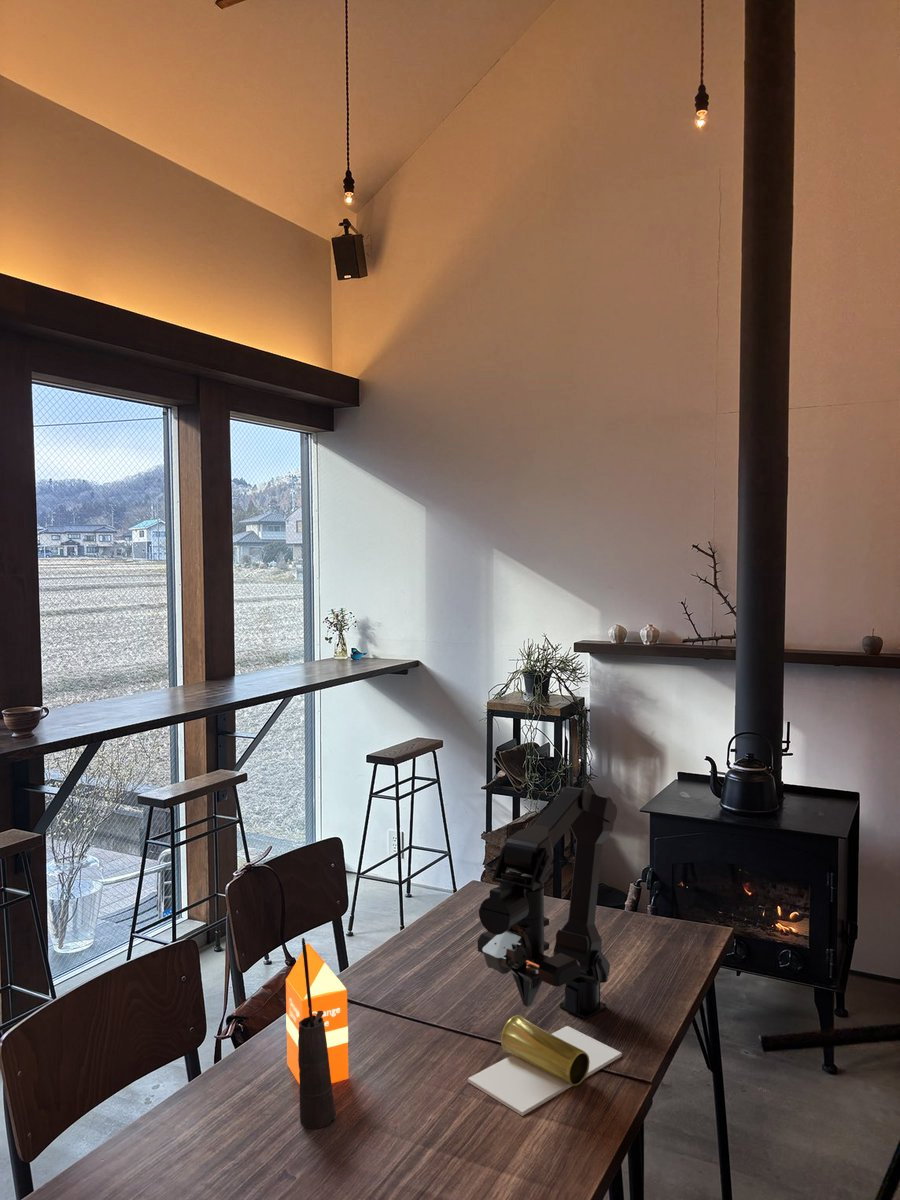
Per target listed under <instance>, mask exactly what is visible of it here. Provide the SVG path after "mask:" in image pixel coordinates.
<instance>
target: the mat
mask: <svg viewBox="0 0 900 1200" xmlns="http://www.w3.org/2000/svg"><path fill="white" fill-rule="evenodd" d="M551 1034H552V1035H553V1036H555V1037H557V1038H559V1039H561V1040H563V1041H565V1042H567V1043H569V1044H571V1045H573V1046H575V1047H577V1048H579V1049H581V1050H583V1051H584V1052H586V1053H587V1054H588V1056H589V1060H590V1064H589V1070H588V1073H587V1075H586V1077H585V1079H587V1078H588V1077H589V1076H591V1075H593V1074H595V1073H596V1072H598V1071H600V1070H601V1069H603V1068H604V1067H607V1066H608V1065H609V1064H611V1063H612V1062H615V1061H616V1060H618V1059H620V1058H621V1057H622V1054H623V1053H622V1052H621V1051H619V1050H617V1049H615V1048H613V1047H611V1046H608V1045H606V1044H605V1043H603V1042H601V1041H599V1040H597V1039H595V1038H593V1037H590V1036H589V1035H587V1034H584V1033H583V1032H580V1031H579V1030H577V1029H575V1028H573V1027H570V1026H569V1025H566V1026H564V1027H562V1028H560V1029H558V1030H556V1031H554V1032H552V1033H551ZM467 1082H468V1083H469V1084H470V1085H472V1086H473V1087H475V1088H477V1089H478V1090H480V1091H482V1092H483V1093H485V1094H486V1095H488V1096H489V1097H491V1098H493V1100H494V1099H495V1100H496V1101H497V1102H499V1103H500V1104H502V1105H504V1106H505V1107H507V1108H509V1109H510V1110H512V1111H514V1112H515V1113H517V1114H518V1115H520V1116H522V1117H524V1116H525V1115H526V1114H528V1113H530V1112H532V1111H533V1110H535V1109H536V1108H539V1107H540V1106H541V1105H543V1104H545V1103H546V1102H548V1101H549V1100H552V1099H553V1098H554V1097H557V1096H558V1095H559V1094H561V1093H563V1092H565V1091H566V1090H569V1088H571V1087H574V1086H573V1085H570V1084H568V1083H567V1082H565V1081H563V1080H561V1079H559V1078H558V1077H556V1076H554V1075H552V1074H550V1073H548V1072H546V1071H544V1070H542V1069H540V1068H538V1067H536V1066H535V1065H532V1064H530V1063H528V1062H527V1061H525V1060H523V1059H521V1058H519V1057H517V1056H515V1055H513V1054H511V1055H509V1056H508V1057H505V1058H503V1059H502V1060H500V1061H497V1062H496V1063H494V1064H492V1065H490V1066H488V1067H487V1068H484V1069H483V1070H481V1071H479V1072H477V1073H475V1074H473V1075H472V1076H470V1077H468V1078H467Z"/></svg>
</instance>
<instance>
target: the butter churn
mask: <svg viewBox="0 0 900 1200" xmlns="http://www.w3.org/2000/svg"><path fill="white" fill-rule="evenodd" d="M306 944H307V943H306V939H305V938H304V937H302V939H301V945H302V947H301V948H302V949H301V950H302V951H303V958H304V968H305V978H306V988H307V999H308V1007H309V1017H307V1018H303V1019H302V1020H301V1021H299V1032H298V1034H299V1038H298V1048H299V1049H298V1051H299V1052H298V1065H299V1080H300V1084H299V1091H298V1093H299V1122H300V1123H301V1125H302V1126H303V1127H304V1128H308V1129H311V1130H316V1129H317V1130H318V1129H320V1128H321V1129H322V1128H324V1127H327V1126H329V1125H331V1122H332V1121H333V1120H335V1119H336V1107H335V1101H334V1093H333V1083H331V1075H330V1065H329V1054H328V1049H327V1041H326V1034H325V1027H324V1021H323V1018H321V1017H322V1015H323V1013H324V1012H323V1011H318V1012H317V1015H316V1016H315V1015H313V1014H312V1002H311V993H310V983H309V971H308V959H307V950H306Z"/></svg>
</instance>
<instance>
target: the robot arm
mask: <svg viewBox="0 0 900 1200" xmlns="http://www.w3.org/2000/svg"><path fill="white" fill-rule="evenodd" d="M557 794H558V796H557V797H556V798H555V799H554V800H553V802H551V804H549V806H548V807H547V808H546V809H545V810H544V811H543V813H542V814H541V815H540V816H539V817H538V818H537V819H536V821H535V822H534V823H533V824H532V825H531V826H529V827H525V828H522V829H518V830H517V831H515V832H514V833H513V834H512V835H511V836H509V837H508V838H507V840H506V841H505V842H504V843H503V845H502V848H501V851H500V854H499V858H498V860H497V864H496V866H495V870H494V873H493V875H492V879H491V881H492V882H493V883H497V884H499V886H497V887H492V888H491V889H490V890H489V897H487V898H486V899H484V900H482V903H481V904H480V906H479V909H478V917H479V920H480V922H481V924H482V926H483V927H484V929H485V930H486V931H485V932H483V933H481V934H480V935H479V937H478V938H477V940H476V941H477V952H479V953H481V954H483V957H484V960H485V963H486V966H487V968H489V969H493V970H495V971H497V972H498V973H499V974H501V975H502V974H503V975H505V974H506V975H507V974H509V973H511V974H512V976H513V979H514V981H515V984H516V987H517V990H518V993H519V996H520V998H521V999H520V1000H521V1001H522V1005H523V1006H524V1007H527V1008H528V1007H531V1006H532V1004H533V1002H534V1000H535V998H536V995H537V993H538V992H539V990H540V989H539V988H540V987H541V985H542V982H544V983H545V984H548V985H550V986H552V987H561V986H563V985H565V986H564V1001H562V1002H559V1004H558V1005H559V1008H561V1009H563V1010H566V1011H567V1012H570V1013H571V1014H574V1015H576V1016H577V1017H580V1018H581V1019H585V1020H586V1019H589V1018H590V1017H593V1016H594V1015H596V1014H598V1013H600V1012H601V1011H604V1010H605V1009H608V1005H607V1004H606V1003H604V1002H602V1001H601V983H607V982H608V981H609V980H608V977H609V974H610V971H611V970H610V968H611V963H610V961H608V959H607V958H606V957H605V955H604V954H603V952H602V943H603V942H602V941H603V940H602V938H601V936H600V933H599V932H598V929H597V927H596V924H595V923H596V912H597V901H598V891H599V882H600V871H601V863H602V853H603V851H602V850H603V844H604V843H605V841H606V840H607V839H608V837H610V835H611V833H613V829H614V824H615V821H616V820H617V814H618V810H617V809H618V808H617V805H616V804H615V803H614V802H613V799H612V798H611V797H610V796H605V795H598V794H595V793H592V792H591V791H589V790H587V789H586V788H581V787H575V786H574V787H573V786H568V785H567V786H564V787H561V788H560V789H559V792H558V793H557ZM569 828H570V829H571V831H572V833H573V836H574V838H575V840H576V842H575V843H576V844H575V851H574V852H575V854H574V861H573V862H574V863H573V869H572V870H573V874H572V880H571V890H570V901H569V911H568V919H567V921H566V923H565V924H564V925H563V926H562V928H561V929H558V930H557V932H556V934H555V945H554V947H553V955H551V954H549V953H546V951H548V950H550V942H548V941H545V927H547V926H549V925H550V918H549V917H545V909H544V907H545V905H544V904H545V902H544V901H545V898H544V894H545V892H544V891H545V890H544V888H545V887H544V886H545V884H544V883H546V882H548V881H549V879H550V877H549V875H548V874H547V873H548V872H549V869H550V866H551V864H552V862H553V860H554V850H553V849H554V848H555V846H556V844H558V842H559V840H561V838H562V837H563V836H564V835H565V834H566V832H567V831H568V830H569ZM507 871H510V873H509V872H507ZM512 872H513V873H512ZM514 872H515V873H518V874H519V875H518V874H515V873H514ZM520 874H521V875H520Z"/></svg>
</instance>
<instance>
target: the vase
mask: <svg viewBox="0 0 900 1200" xmlns="http://www.w3.org/2000/svg"><path fill="white" fill-rule="evenodd" d="M500 1037H501V1038H500V1044H501V1047H502V1050H503V1051H504V1052H506V1053H508V1054H511V1055H515V1056H517V1057H519V1058H521V1059H523V1060H525V1061H527V1062H528V1063H530V1064H532V1065H535V1066H536V1067H538V1068H540V1069H542V1070H544V1071H546V1072H548V1073H550V1074H552V1075H554V1076H556V1077H558V1078H559V1079H561V1080H563V1081H565V1082H567V1083H568V1084H570V1085H573V1086H572V1087H577V1086H579V1085H581V1084H582V1083H583V1081H584V1080H585V1079H586V1078H587V1077H586V1075H587V1073H588V1070H589V1064H590V1060H589V1056H588V1054H587V1053H586V1052H584V1051H583V1050H581V1049H579V1048H577V1047H575V1046H573V1045H571V1044H569V1043H567V1042H565V1041H563V1040H561V1039H559V1038H557V1037H555V1036H553V1035H552V1033H550V1032H548V1031H546V1030H544V1029H543V1028H541V1027H539V1026H537V1025H535V1024H534V1023H532V1022H530V1021H529V1020H527V1018H525V1017H524V1016H522V1015H520V1014H516V1015H513V1016H512V1017H510V1018H509V1019H508V1020H507V1022H506V1023H505V1025H504V1027H503V1029H502V1032H501V1036H500ZM585 1077H586V1078H585Z"/></svg>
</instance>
